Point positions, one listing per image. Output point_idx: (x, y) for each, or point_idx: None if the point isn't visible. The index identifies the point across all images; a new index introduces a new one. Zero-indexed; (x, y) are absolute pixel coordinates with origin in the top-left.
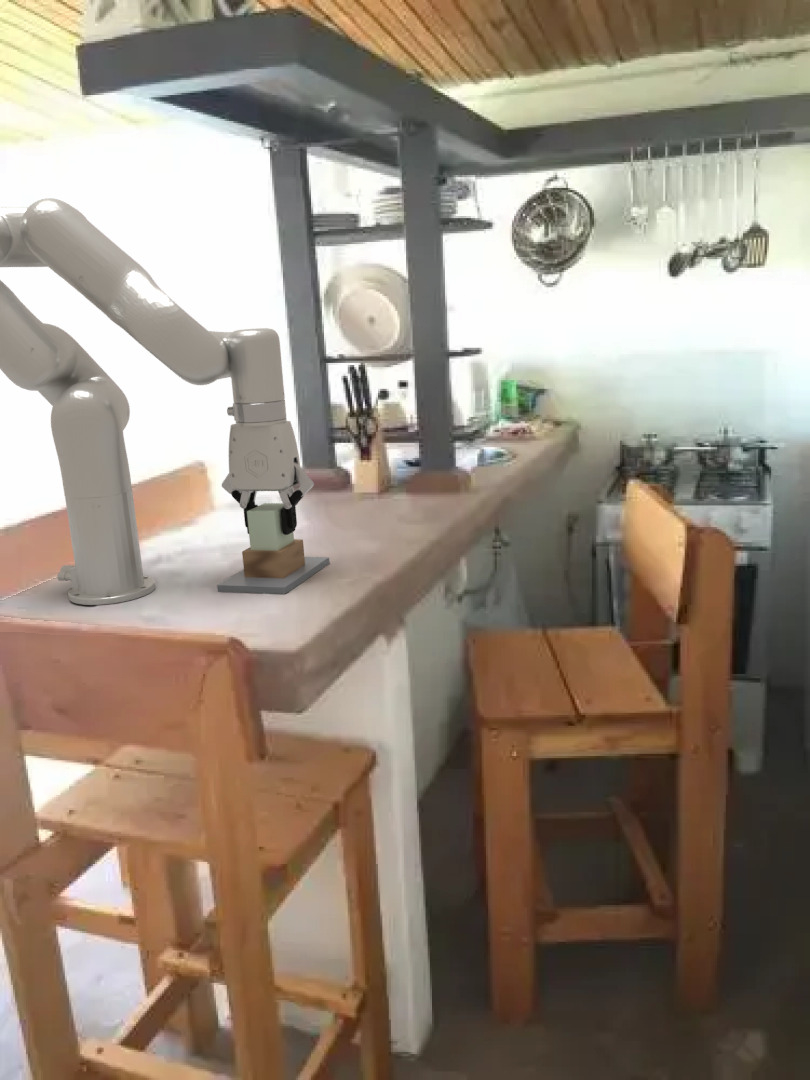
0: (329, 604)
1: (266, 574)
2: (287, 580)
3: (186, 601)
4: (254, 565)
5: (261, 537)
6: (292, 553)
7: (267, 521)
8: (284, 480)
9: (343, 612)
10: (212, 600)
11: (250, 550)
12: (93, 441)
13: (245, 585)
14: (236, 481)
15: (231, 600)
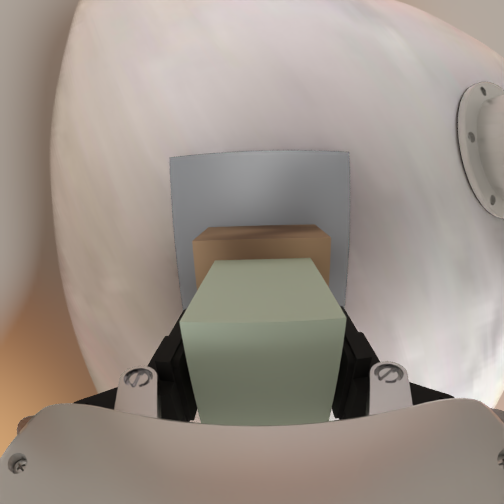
0: (79, 136)
1: (253, 227)
2: (190, 212)
3: (374, 96)
4: (287, 229)
5: (268, 272)
6: None
7: (231, 300)
8: (30, 433)
9: (53, 111)
10: (324, 103)
11: (309, 253)
12: None
13: (275, 155)
14: (472, 434)
15: (281, 106)
